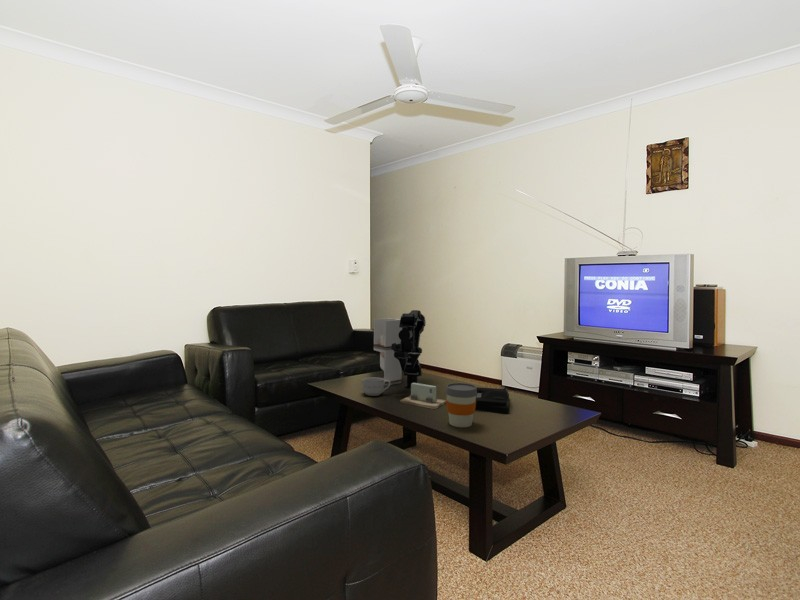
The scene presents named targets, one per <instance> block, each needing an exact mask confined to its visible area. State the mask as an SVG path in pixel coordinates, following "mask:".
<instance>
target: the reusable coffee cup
mask: <svg viewBox="0 0 800 600" xmlns="http://www.w3.org/2000/svg"><path fill="white" fill-rule="evenodd" d="M445 395H446V399H445V400H446V403H445V405H446V412H447V413H448V423H449V424H450V425H451V426H452V427H455V428H456V427H457V428H469V427H471V426H472V424H473V420H474V414H475V412H476V411H475V407H476V395H477V386H476V385H474V384H471V383H466V382H465V383H464V382H454V383H448V384H446V387H445Z"/></svg>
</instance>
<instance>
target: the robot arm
mask: <svg viewBox="0 0 800 600" xmlns="http://www.w3.org/2000/svg"><path fill="white" fill-rule="evenodd" d="M401 314H402V315H401V316H400V318H399V319H400V325H399V327H400V328H402V330H401V331H400V332H399V338H400V340H401V343H400V344H396V343H393V344H392V346H391V349H392V350H393V351H394V357H395V358H396V359H398V360H399V362H400V365H401V368H402V372H403V376H406V385H404V388H408V389H411V384H412V383H419V377H422V376H423V375H422V373H423V372H422V367H421V364H420V361H419V358H420V357H421V354H423V349H422V348H421V346H420V341H421V340H420V339H421V334H422V333H423V332H424V330H425V327H426V323H427V322H426V318H425V317H426V316H425V315H424V314H422V312H421V310H417V309H416V310H414V309H413V310H411V311H410V312H409V313H401ZM399 350H400V351H399Z"/></svg>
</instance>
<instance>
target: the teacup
mask: <svg viewBox="0 0 800 600" xmlns="http://www.w3.org/2000/svg"><path fill="white" fill-rule="evenodd" d="M385 382H388V383H389V385H388V386H384V384H385ZM391 386H392V385H391V382H390V381H389V380H385V381H384V379H383V378H379V377H378V376H377V377H365V378H362V391H363V393H364V394H365V395H366V396H369V397H371V396H372V397H376V396H380V395H381V394H382V393H383V392H385V391H386V390H387V389H389V388H390V387H391Z"/></svg>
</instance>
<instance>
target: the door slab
mask: <svg viewBox="0 0 800 600" xmlns="http://www.w3.org/2000/svg"><path fill="white" fill-rule="evenodd" d="M411 395H413V396H417V400H423V401H426V398H430V399H432V402H436V397H437V386H436V385H431V384H424V383H420V382H418V383H412V384H411V388H410V396H411Z"/></svg>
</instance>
